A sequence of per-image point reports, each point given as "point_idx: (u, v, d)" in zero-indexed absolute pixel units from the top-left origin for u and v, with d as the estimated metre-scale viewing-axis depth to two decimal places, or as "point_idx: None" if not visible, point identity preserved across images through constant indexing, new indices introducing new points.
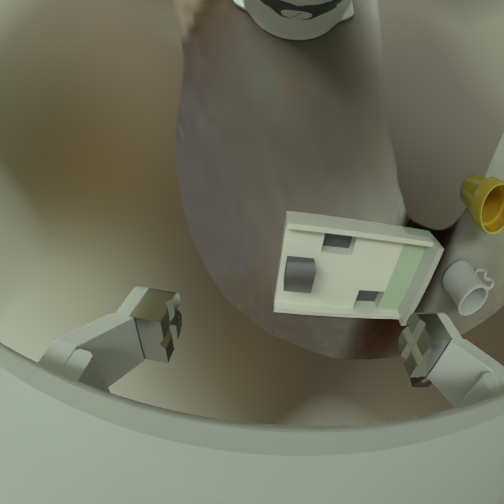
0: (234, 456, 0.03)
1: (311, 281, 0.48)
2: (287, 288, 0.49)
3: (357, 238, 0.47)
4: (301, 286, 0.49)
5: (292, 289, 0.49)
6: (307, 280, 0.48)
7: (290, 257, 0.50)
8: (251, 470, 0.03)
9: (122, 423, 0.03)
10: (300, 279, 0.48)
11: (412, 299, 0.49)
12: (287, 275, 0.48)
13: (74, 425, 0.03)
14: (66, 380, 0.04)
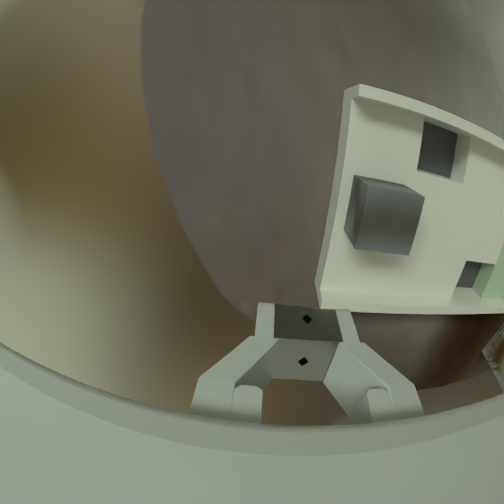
0: (234, 456, 0.03)
1: (413, 224, 0.19)
2: (363, 242, 0.20)
3: (470, 150, 0.19)
4: (394, 236, 0.19)
5: (375, 246, 0.20)
6: (407, 221, 0.19)
7: (362, 176, 0.21)
8: (251, 470, 0.03)
9: (123, 424, 0.03)
10: (393, 218, 0.19)
11: None
12: (367, 205, 0.18)
13: (74, 425, 0.03)
14: (66, 380, 0.04)
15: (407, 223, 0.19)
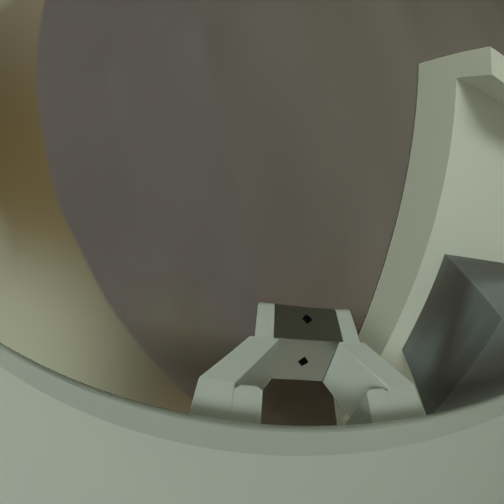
0: (234, 456, 0.03)
1: None
2: (447, 407, 0.07)
3: None
4: (495, 384, 0.07)
5: (461, 405, 0.07)
6: None
7: (460, 259, 0.08)
8: (251, 470, 0.03)
9: (122, 424, 0.03)
10: None
11: None
12: (482, 354, 0.06)
13: (74, 425, 0.03)
14: (66, 380, 0.04)
15: None
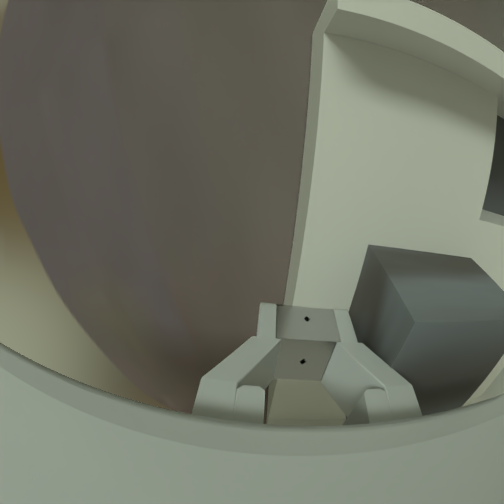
0: (234, 456, 0.03)
1: (485, 371, 0.06)
2: None
3: None
4: (440, 399, 0.07)
5: None
6: (476, 370, 0.06)
7: (388, 251, 0.08)
8: (251, 470, 0.03)
9: (122, 424, 0.03)
10: (451, 373, 0.06)
11: None
12: (397, 365, 0.06)
13: (74, 425, 0.03)
14: (66, 380, 0.04)
15: (475, 373, 0.06)
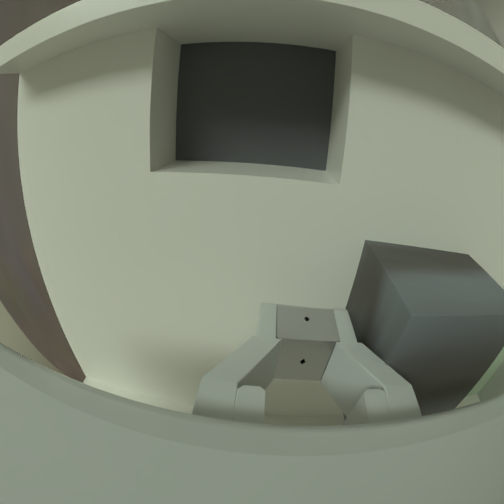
0: (234, 456, 0.03)
1: (482, 367, 0.06)
2: None
3: (357, 72, 0.06)
4: (438, 395, 0.07)
5: None
6: (474, 366, 0.06)
7: (385, 246, 0.08)
8: (251, 470, 0.03)
9: (123, 424, 0.03)
10: (449, 369, 0.06)
11: None
12: (394, 359, 0.06)
13: (74, 425, 0.03)
14: (66, 380, 0.04)
15: (473, 369, 0.06)
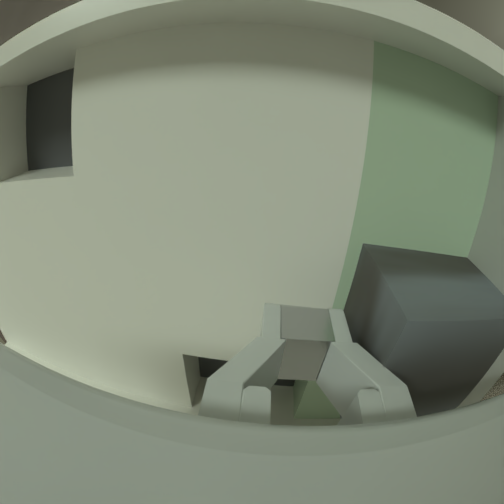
0: (234, 456, 0.03)
1: (480, 371, 0.06)
2: None
3: (76, 81, 0.07)
4: (435, 399, 0.07)
5: None
6: (472, 370, 0.06)
7: (383, 249, 0.08)
8: (251, 470, 0.03)
9: (122, 423, 0.03)
10: (446, 373, 0.06)
11: None
12: (391, 364, 0.06)
13: (74, 425, 0.03)
14: (66, 380, 0.04)
15: (470, 373, 0.06)
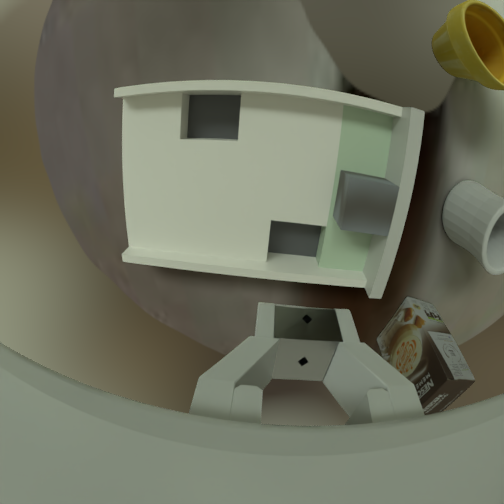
0: (234, 456, 0.03)
1: (390, 209, 0.23)
2: (348, 223, 0.24)
3: (242, 106, 0.24)
4: (373, 219, 0.24)
5: (357, 227, 0.24)
6: (384, 207, 0.23)
7: (347, 171, 0.26)
8: (251, 470, 0.03)
9: (123, 424, 0.03)
10: (372, 204, 0.23)
11: None
12: (349, 193, 0.23)
13: (74, 425, 0.03)
14: (66, 380, 0.04)
15: (384, 208, 0.23)
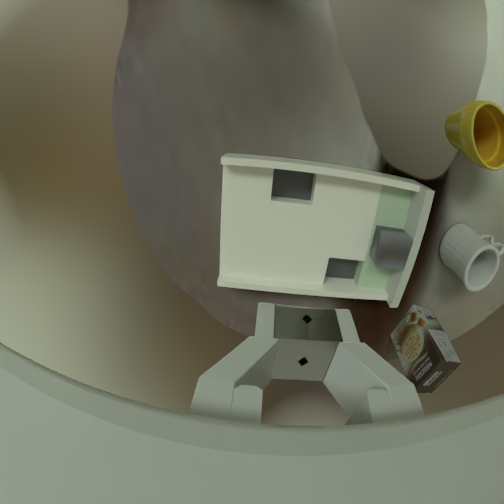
0: (234, 456, 0.03)
1: (406, 253, 0.36)
2: (381, 263, 0.37)
3: (317, 180, 0.37)
4: (396, 259, 0.37)
5: (386, 264, 0.37)
6: (403, 252, 0.36)
7: (380, 226, 0.39)
8: (251, 470, 0.03)
9: (122, 424, 0.03)
10: (396, 250, 0.36)
11: None
12: (383, 244, 0.36)
13: (74, 425, 0.03)
14: (66, 380, 0.04)
15: (403, 253, 0.36)
